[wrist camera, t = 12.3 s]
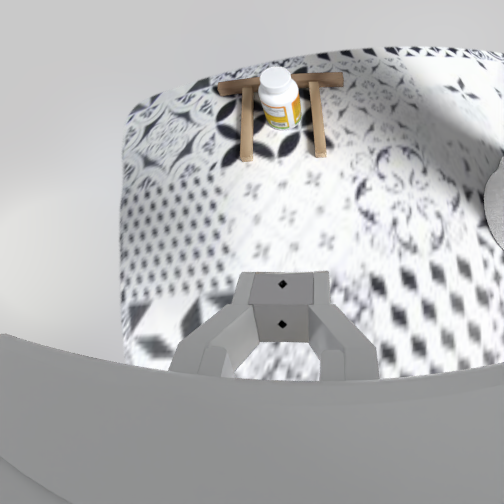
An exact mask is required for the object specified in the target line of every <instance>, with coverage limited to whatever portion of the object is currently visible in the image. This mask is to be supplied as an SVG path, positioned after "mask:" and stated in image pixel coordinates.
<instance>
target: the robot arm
mask: <svg viewBox="0 0 504 504" xmlns="http://www.w3.org/2000/svg"><path fill="white" fill-rule="evenodd" d="M484 208H485V214H486V218H487V222H488V225H489V227H490V230H491V232H492V234H493V236H494V238H495V239H496V241H497V242H498V244H499V245H500V246H501V247H502V248H503V249H504V156H503V157H502V158H501V161H500V164H499V168H498V169H497V171H496V172H494V173H493V174H492V175H491V177H490V178H489V180H488V182H487V184H486V188H485V193H484ZM260 342H305V343H309V345H310V346H311V348H312V349H313V351H314V352H315V354H316V356H317V357H318V359H319V360H320V377H319V381H279V380H257V379H241V378H236V377H235V374H234V372H235V371H236V370H237V368H238V367H239V366H240V365H241V364H242V363H243V362H244V361H245V359H246V358H247V357H248V356H249V355H250V354H251V353H252V351H253V350H254V349H255V348H256V347H257V346H258V345H259V343H260ZM0 504H504V362H503V363H498V364H493V365H488V366H483V367H477V368H471V369H465V370H459V371H452V372H445V373H437V374H429V375H420V376H411V377H400V378H387V379H379V370H378V361H377V353H376V347H375V346H374V345H373V344H372V343H371V342H370V341H369V340H368V339H367V338H366V337H365V335H364V334H363V333H362V332H361V331H360V330H359V329H358V328H357V327H356V326H355V325H354V324H353V323H352V322H351V321H350V320H349V319H348V318H347V316H346V315H345V314H344V313H343V312H342V311H341V310H340V309H339V308H338V307H337V306H336V305H335V304H331V300H330V281H329V272H328V271H314V278H313V272H242V273H241V274H240V276H239V280H238V283H237V287H236V290H235V294H234V297H233V301H232V304H227V305H226V306H225V307H223V308H222V309H221V310H220V311H218V312H217V313H216V314H215V315H213V316H212V317H211V318H210V319H208V320H207V321H206V322H205V323H203V324H202V325H201V326H200V327H198V328H197V329H196V330H195V331H193V332H192V333H191V334H190V335H188V336H187V337H186V338H184V339H183V340H182V341H181V342H179V344H178V347H177V349H176V352H175V354H174V357H173V359H172V362H171V365H170V367H169V370H168V371H165V370H158V369H152V368H145V367H139V366H133V365H128V364H122V363H117V362H111V361H107V360H102V359H97V358H93V357H88V356H84V355H79V354H75V353H71V352H67V351H63V350H59V349H55V348H51V347H48V346H43V345H40V344H37V343H33V342H30V341H26V340H23V339H20V338H17V337H14V336H11V335H8V334H0Z"/></svg>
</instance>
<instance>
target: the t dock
mask: <svg viewBox="0 0 504 504" xmlns="http://www.w3.org/2000/svg"><path fill="white" fill-rule="evenodd" d="M291 79H293V80H294V81H295V82H296V84H297V86H298V88H309V90H310V99H311V109H312V120H313V131H314V143H315V156H316V157H326V144H325V134H324V124H323V115H322V107H321V99H320V91H319V87H343V82H344V78H343V73H342V72H331V73H303V74H291ZM260 84H261V83H260V77H256V78H247V79H240V80H232V81H226V82H219V83H218V91H219V93H220V95H221V96H226V95H233V94H241V93H242V114H241V145H240V158H241V160H242V162H247V161H253V102H254V92H258V89H259V86H260Z"/></svg>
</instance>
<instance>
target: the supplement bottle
mask: <svg viewBox="0 0 504 504" xmlns="http://www.w3.org/2000/svg"><path fill="white" fill-rule="evenodd" d="M260 83H261V84H260V86H259V89H258V94H259V98H260V100H261V103H262V106H263V110H264V113H265V116H266V119H267V121H268V123H269V125H270V126H272V127H273V128H275V129H278V130H289V129H292V128H294V127H295V126H296V125H297V124H298V123H299V122H300V120H301V116H302V115H301V106H300V98H299V91H298V86H297V84H296V82H295V81H294V80H293V79H291V74H290V72H289V71H288V70H287V69H285V68H283V67H278V66H275V67H270V68H268V69H266V70H264V71H263V72H262V73H261V75H260Z"/></svg>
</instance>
